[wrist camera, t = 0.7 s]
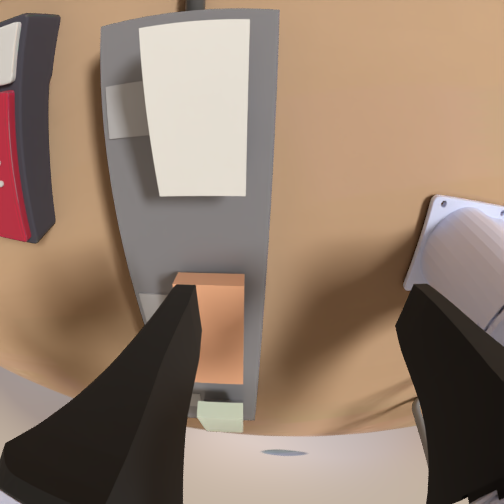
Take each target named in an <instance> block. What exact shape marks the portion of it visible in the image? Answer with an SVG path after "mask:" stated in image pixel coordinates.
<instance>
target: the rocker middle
mask: <svg viewBox="0 0 504 504" xmlns="http://www.w3.org/2000/svg"><path fill="white" fill-rule="evenodd" d="M244 279H245V274H225V273H186V272H178V274H177V276H176V278H175V280H174V282H173V284H172V285H173V287H174V286H175V285H176V284H183V285H196V291H197V298H198V306H199V313H200V320H201V327H202V336H201V347H200V358H199V363H198V368H197V373H196V378H195V382H199V383H217V384H243V357H244Z"/></svg>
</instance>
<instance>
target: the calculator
mask: <svg viewBox="0 0 504 504" xmlns="http://www.w3.org/2000/svg"><path fill="white" fill-rule="evenodd" d="M59 25H60V16H59V15H53V14H37V13H25V14H22V15H19V16H16V17H13V18H11V19H8V20H5V21H3V22H0V236H1V237H5V238H10V239H14V240H19V241H23V242H30V243H38V242H39V240H40V239H41V238H42V237H43V236H44V235H45V234H46V232H47V231H48V230H49V229H50V228H51V227H52V226H53V225H54V224H55V212H54V204H53V195H52V184H51V171H50V154H49V132H48V95H49V81H50V78H51V76H52V70H53V62H54V55H55V48H56V41H57V36H58V30H59Z"/></svg>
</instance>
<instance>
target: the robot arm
mask: <svg viewBox="0 0 504 504" xmlns="http://www.w3.org/2000/svg"><path fill="white" fill-rule="evenodd" d="M443 201H444V203H443V204H442V205H441V203H442V202H443ZM403 287H404V289H405V290H407V291H410V294H409V296H408V299H407V301H406V303H405V305H404V308H403V310H402V312H401V314H400V317H399V319H398V321H397V323H396V325H395V327H396V331H397V336H398V340H399V344H400V348H401V351H402V354H403V357H404V360H405V362H406V365H407V368H408V371H409V373H410V376H411V379H412V382H413V384H414V387H415V390H416V393H417V396H418V399H419V402H420V406H421V409H422V414H423V419H424V425H425V431H426V438H427V448H428V467H429V477H428V494H427V502H426V504H453V503H456V502H458V501H461V500H463V499H465V498H467V497H468V500H469V504H504V206H501V205H496V204H491V203H486V202H480V201H475V200H469V199H463V198H457V197H451V196H445V195H434V196H433V197H432V199H431V201H430V205H429V208H428V212H427V216H426V219H425V222H424V226H423V229H422V232H421V235H420V238H419V241H418V244H417V247H416V250H415V253H414V256H413V259H412V262H411V265H410V267H409V270H408V273H407V275H406V278H405V281H404V283H403ZM201 336H202V327H201V320H200V313H199V306H198V298H197V291H196V285H183V284H176V285H175V286H174V287H173V288H172V290H171V291H170V293H169V294H168V295H167V297H166V298H165V299H164V301H163V302H162V303H161V305H160V306H159V308H158V309H157V310H156V311H155V313H154V314H153V315H152V317H151V318H150V319H149V320H148V322H147V323H146V324H145V325H144V327H143V328H142V329H141V331H140V332H139V333H138V334H137V335H136V337H135V338H134V339H133V340H132V341H131V342H130V343H129V345H128V346H127V347H126V348H125V349H124V350H123V351H122V353H121V354H120V355H119V356H118V357H117V358H116V359H115V360H114V361H113V362H112V363H111V365H110V366H109V367H108V368H107V369H106V370H105V371H104V372H103V373H101V374H100V375H99V376H98V377H97V378H96V379H95V380H94V381H93V382H92V383H91V384H90V385H89V386H87V387H86V388H85V389H84V390H83V391H82V392H81V393H80V394H78V395H77V396H76V397H75V398H74V399H73V400H71V401H70V402H69V403H67V404H66V405H65V406H63V407H62V408H61V409H59V410H58V411H57V412H55V413H54V414H52V415H51V416H50V417H48V418H47V419H45V420H44V421H43V422H41V423H40V424H38V425H37V426H35V427H33V428H31V429H30V430H28V431H26V432H25V433H23V434H21V435H19V436H18V437H16V438H14V439H12V440H10V441H9V442H7V443H5V446H4V449H3V452H2V455H1V458H0V504H183V465H184V447H185V446H184V445H185V433H186V424H187V417H188V412H189V407H190V402H191V397H192V392H193V387H194V382H195V378H196V373H197V368H198V363H199V358H200V347H201Z"/></svg>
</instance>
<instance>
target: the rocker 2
mask: <svg viewBox="0 0 504 504" xmlns="http://www.w3.org/2000/svg"><path fill="white" fill-rule="evenodd" d="M197 418H198V419H199V421H200V422H201V424H202V425H203V427H204V428H205V429H206V431H213V432H235V433H243V403H225V402H206V401H198V406H197Z"/></svg>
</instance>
